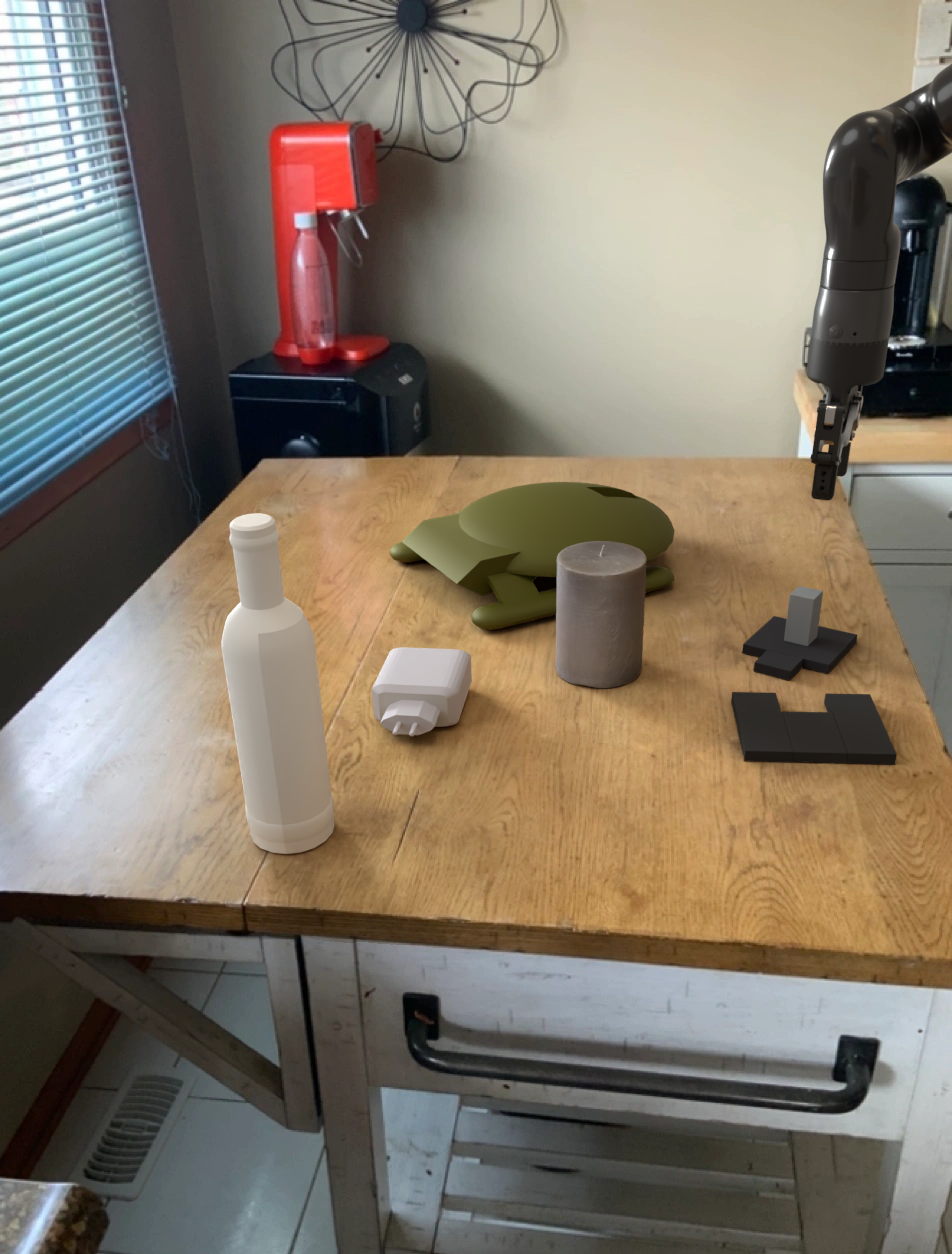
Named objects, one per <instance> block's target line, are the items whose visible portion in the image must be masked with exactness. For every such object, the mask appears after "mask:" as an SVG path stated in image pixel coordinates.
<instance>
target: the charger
mask: <svg viewBox="0 0 952 1254" xmlns="http://www.w3.org/2000/svg"><path fill="white" fill-rule="evenodd" d="M472 675H473V674H472V655H471V654H470V653H469V652H467V651H465V650H462V649H456V648H434V647H433V648H432V647H431V648H430V647H410V646H409V647H407V646H403V647H401V646H400V647H395V648H392V649H391V650H390V651H389V652H388V654H387V657H386V659H385V661H384V663H383V665H382V667H381V669H380V671H379V674H378V675H377V678H376V679H375V681H374V683H373V686H372V688H371V700H372V712H373V717H374V719H376V720H377V721H379V724H380V725H381V726H382V727H383V728H385V730H387V731H390V732H391V733H392V735H393V736H397V735H408V736H409V737H414V736H420V735H423V734H425V733H428V732H430V731H432V730H433V729H434V728H435V727H441V728H442V727H450V726H454V725H457V724H458V723H459V721H460V718H461V715H462V711H463V710H464V706H465V703H466V700H467V697H468V693H469V691H470V687H471V684H472V682H473V678H472V677H473V676H472Z"/></svg>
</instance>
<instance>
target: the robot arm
mask: <svg viewBox="0 0 952 1254" xmlns="http://www.w3.org/2000/svg"><path fill="white" fill-rule="evenodd" d="M951 154H952V63H950V64H949V65H948V66H946V67H945V68H943V69H942V70H940V71H939V72H938V73H937V74H936V75H935V76H934V78H933V80H932V81H930V82H928V83H927V84H924V85H923V86H921V87H919V88H917V89H915V90H914V91H911V92H910V93H909V94H908V93H907V94H906V95H905V96H903V97H901V98H899V99H898V100H896V101H893V102H891V103H889V104H887V105H886V106H884V107H881V108H878V109H872V110H865V111H861V112H857V113H856V114H854V115H852V116H850V117H848V118H847V119H846V120H844V121H843V122H842V123H841V124H840V125H839V126H838V128H837V129H836V130H835V131H834V134H833V135H832V137H831V139H830V141H829V143H828V146H827V149H826V154H825V159H824V164H823V171H822V199H823V220H824V228H825V243H824V248H823V255H822V256H823V257H822V264H821V272H820V280H819V281H820V282H819V286H818V292H817V296H816V299H815V303H814V308H813V314H812V315H813V317H812V322H811V323H812V324H811V332H810V338H809V339H810V341H809V348H808V349H809V350H808V356H807V364H806V365H807V366H806V377H807V379H808V380H809V381H811V382H813V383H815V384H818V385H820V384H822V385H824V386H825V387H827V389H826V393H823V395H822V399H819V400H818V405H817V408H816V414H817V416H816V421H815V428H814V433H813V445H812V452H811V454H810V462H811V464H813V465H814V472H813V478H812V487H811V495H810V496H811V498H812V499H814V500H820V501H831V500H832V499H833V498H834V496H835V491H836V484H837V477H845V476H846V474H847V472H848V467H849V460H850V453H851V447H852V442H853V441H854V439H855V438H856V433H855V432H856V431H857V429H858V428H859V423H860V420H861V412H862V408H863V403H864V395H863V388H864V386H865V387H866V386H871V385H875V384H877V383H878V382H880V381H882V379H883V377H884V373H885V369H886V360H887V354H888V348H889V340H890V335H891V327H892V321H893V315H894V307H895V306H894V303H895V299H894V298H895V284H896V279H897V272H898V264H899V259H900V258H899V257H900V252H901V251H900V250H901V241H902V240H901V239H902V238H901V237H902V236H901V229H900V228H899V226H898V224H897V223H895V220H894V216H895V208H896V207H895V205H896V193H897V185H899V184H901V183H903V182H905V181H906V180H909V179H910V178H912V177H914V176H916V175H918V174H920V173H921V172H923V171H925V170H926V169H928V168H930V167H931V166H933V165H935V164H936V163H938V162H940V161H941V160H943V159H944V158H946V157H948V156H949V155H951ZM825 445H828V448H827V451H823V448H824V446H825Z"/></svg>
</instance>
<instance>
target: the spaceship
mask: <svg viewBox="0 0 952 1254" xmlns="http://www.w3.org/2000/svg"><path fill="white" fill-rule="evenodd" d="M674 538H675V528H674V525H673V523H672V520H671V518H670V517H669V516H668V515H667V513H666V512H665V511H664V510H663V509H662V508H660V506H658V505H656V503H653V502H651V501H649V500H648V499H647V498H643V497H641V496H639V495H636V494H634V493H633V492H631V491H627V490H625V489H621V488H617V487H614V486H610V485H605V484H598V483H589V482H581V481H579V482H578V481H547V482H538V483H529V484H522V485H517V486H516V485H515V486H512V487H508V488H504V489H500V490H498V491H495V492H492V493H490V494H487V495H484V496H482V497H480V498H478V499H476V500H474V501H472V502H471V503H469V504H468V505H466V506H465V507H464V508H462V509H461V510H459V512H457V513H452V514H448V515H447V514H446V515H443V516H439V517H438V516H437V517H434V518H433V517H432V518H428V519H423V520H422V521H421V522H420V523H419V524H418V525H417V526H416V527H414V529H413V530H412V531H411V532H410V533H409V534H407V535H406V537H405V538H404V539H403V540H402V541H400V542H397V543H394V545H392V546H391V547H390V549H389V556H390V558H391V559H393V560H394V561H396V562H399V563H407V564H408V563H414V562H418V561H423V560H425V561H426V562H427V563H428V564H430V565H431V566H433V567H434V568H435V569H436V570H438V571H439V572H440V573H442V574H443V575H444V576H446V577H447V578H448V579H449V580H451V581H452V582H454V583H455V584H456V585H459V586H461V587H462V588H464V589H466V590H469V591H471V592H473V593H475V594H477V595H479V596H486V595H490V594H494V595H495V598H496V599H497V601H496V602H492V603H489V604H484V605H481V606H479V607H477V608H476V609H474V610H473V611H472V613H471V616H470V618H471V621H472V623H473V624H474V625H475V627H478V628H480V629H482V630H488V631H489V630H490V631H491V630H492V631H494V630H500V629H504V628H509V627H513V626H518V625H521V624H525V623H530V622H533V621H537V620H541V619H545V618H549V617H553V616H556V599H557V598H556V595H557V587H554V588H551V589H546V590H542V591H538V588H537V587H536V585H535V584H534V581H535V580H536V579H537V578H538V577H548V578H557V562H556V560H557V557H558V554H559V553H560V552H561V551H562V550H564V549H565V548H567V547H569V546H572V545H575V544H579V543H583V542H591V541H611V542H618V543H624V544H628V545H631V546H633V547H636V548H638V549H640V550H641V551H643V553H644V554H645V555H646V559H647V561H646V563H647V562H648V561H651V560H653V559H656V558H658V557H659V556H660V555H662V554H663V553H664V552H666V551H667V550H668V549H669V547H670V546H671V545H672V544H673V542H674ZM674 582H675V574H674V572H673V571H671V569H670V568H667V567H665V566H662V565H646V586H645V594H646V593H650V592H653V591H658V590H662V589H666V588H667V587H670V586H671V584H672V583H674Z"/></svg>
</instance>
